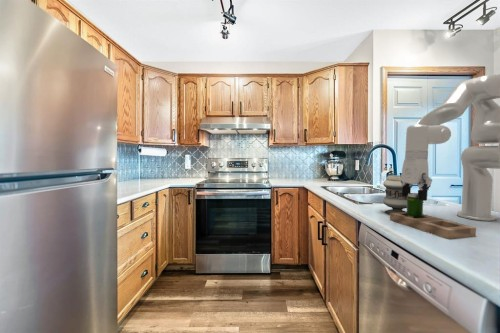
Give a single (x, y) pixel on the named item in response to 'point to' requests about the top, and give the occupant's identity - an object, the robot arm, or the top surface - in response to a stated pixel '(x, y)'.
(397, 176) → the apothecary jar
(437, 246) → the top surface
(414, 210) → the beer can
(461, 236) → the can rack
